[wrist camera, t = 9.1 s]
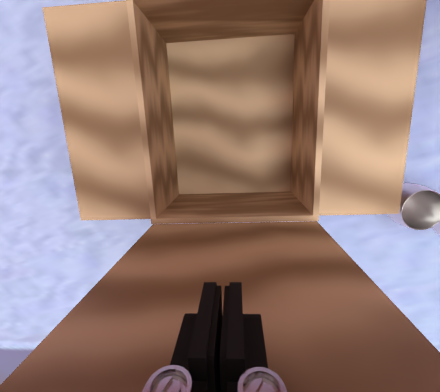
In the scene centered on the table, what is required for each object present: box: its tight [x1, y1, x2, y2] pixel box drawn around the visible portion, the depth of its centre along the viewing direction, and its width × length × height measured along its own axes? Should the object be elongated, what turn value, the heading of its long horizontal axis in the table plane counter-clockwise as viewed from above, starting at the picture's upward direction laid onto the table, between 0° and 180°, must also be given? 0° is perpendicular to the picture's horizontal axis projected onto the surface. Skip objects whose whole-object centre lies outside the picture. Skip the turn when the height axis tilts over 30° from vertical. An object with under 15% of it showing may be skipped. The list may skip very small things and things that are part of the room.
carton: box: [43, 0, 427, 224], centre depth 31 cm, size 22×34×12 cm, turn 92°
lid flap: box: [0, 221, 440, 392], centre depth 17 cm, size 22×18×1 cm
